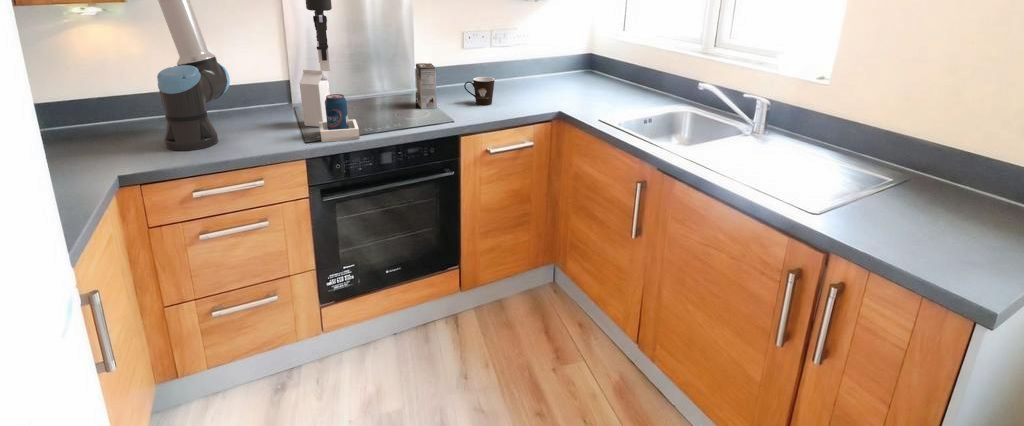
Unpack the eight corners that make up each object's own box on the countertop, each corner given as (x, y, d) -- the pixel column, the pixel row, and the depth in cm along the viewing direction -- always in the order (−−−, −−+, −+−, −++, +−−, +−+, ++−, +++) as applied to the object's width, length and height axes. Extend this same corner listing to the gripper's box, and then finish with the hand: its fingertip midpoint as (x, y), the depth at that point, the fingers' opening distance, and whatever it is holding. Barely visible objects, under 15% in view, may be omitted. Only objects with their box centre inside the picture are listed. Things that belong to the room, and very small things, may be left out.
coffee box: (417, 103, 243) (415, 63, 237) (433, 102, 245) (431, 62, 239) (420, 109, 235) (419, 67, 229) (437, 108, 237) (435, 66, 231)
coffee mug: (498, 103, 247) (498, 78, 242) (486, 107, 240) (486, 82, 236) (475, 99, 252) (475, 75, 248) (463, 103, 245) (462, 78, 241)
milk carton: (323, 127, 210) (317, 72, 202) (304, 126, 212) (297, 71, 204) (332, 122, 217) (327, 68, 209) (314, 120, 218) (308, 67, 210)
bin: (321, 142, 195) (320, 131, 194) (320, 131, 205) (319, 121, 204) (359, 139, 199) (358, 128, 197) (356, 129, 209) (355, 119, 208)
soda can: (324, 133, 200) (320, 98, 195) (332, 128, 206) (328, 93, 201) (345, 134, 199) (341, 98, 194) (352, 129, 206) (348, 94, 201)
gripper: (333, 0, 175) (339, 74, 183) (328, -7, 196) (333, 59, 205) (306, 0, 172) (313, 74, 181) (304, -8, 194) (310, 59, 202)
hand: (324, 66), depth 193 cm, fingers open, 13 cm apart
